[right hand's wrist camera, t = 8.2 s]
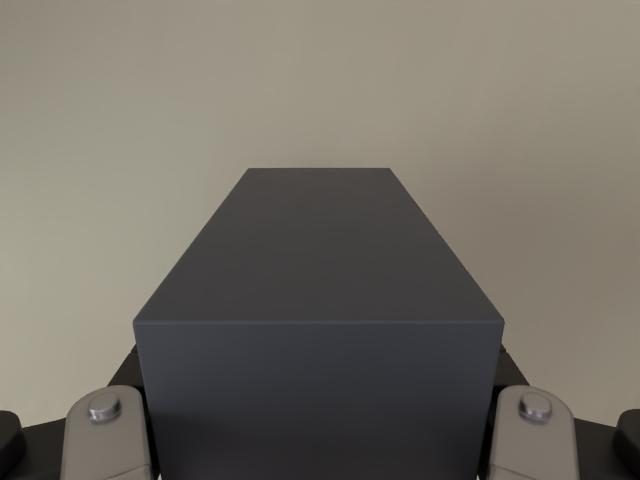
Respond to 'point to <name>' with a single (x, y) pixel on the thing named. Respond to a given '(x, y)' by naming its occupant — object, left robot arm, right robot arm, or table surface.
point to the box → (318, 338)
